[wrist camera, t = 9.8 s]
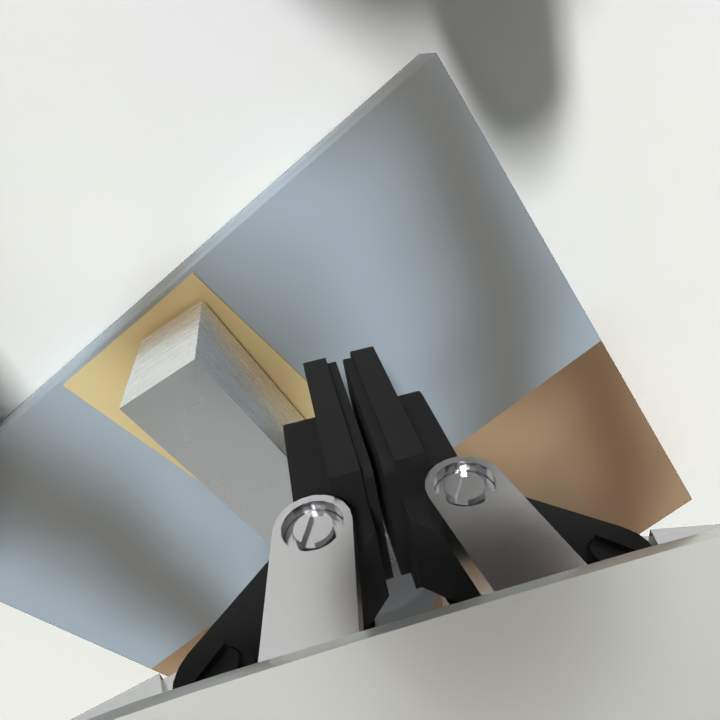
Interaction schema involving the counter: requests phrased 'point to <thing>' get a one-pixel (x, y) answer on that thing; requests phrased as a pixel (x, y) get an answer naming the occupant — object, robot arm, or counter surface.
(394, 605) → the bar
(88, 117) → the counter surface
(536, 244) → the latch board
